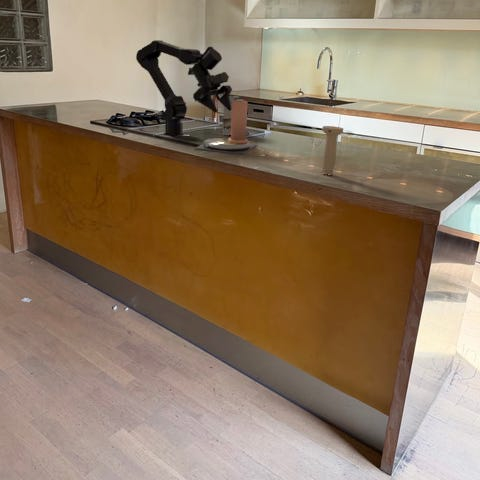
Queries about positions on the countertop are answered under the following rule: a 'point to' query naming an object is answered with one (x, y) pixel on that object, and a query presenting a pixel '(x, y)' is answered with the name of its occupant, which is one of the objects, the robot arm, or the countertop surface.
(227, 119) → the coffee box
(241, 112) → the pink tall cylinder
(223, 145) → the turntable disk
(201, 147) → the base
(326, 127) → the handle
